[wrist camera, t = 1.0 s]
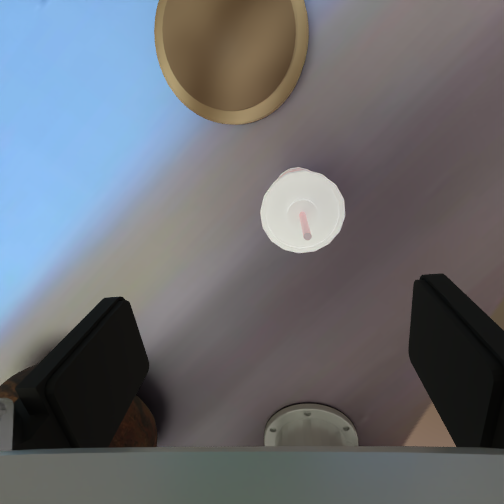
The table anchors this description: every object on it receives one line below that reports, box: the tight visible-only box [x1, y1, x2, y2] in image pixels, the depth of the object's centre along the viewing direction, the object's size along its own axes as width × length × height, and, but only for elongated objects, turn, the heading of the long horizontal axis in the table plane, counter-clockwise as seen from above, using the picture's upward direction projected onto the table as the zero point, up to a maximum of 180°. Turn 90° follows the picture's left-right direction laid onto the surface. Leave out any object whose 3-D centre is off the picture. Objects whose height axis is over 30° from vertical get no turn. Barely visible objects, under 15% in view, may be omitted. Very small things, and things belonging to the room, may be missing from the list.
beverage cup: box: [260, 167, 345, 253], centre depth 24 cm, size 6×6×14 cm
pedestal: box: [154, 0, 309, 125], centre depth 25 cm, size 12×12×4 cm
